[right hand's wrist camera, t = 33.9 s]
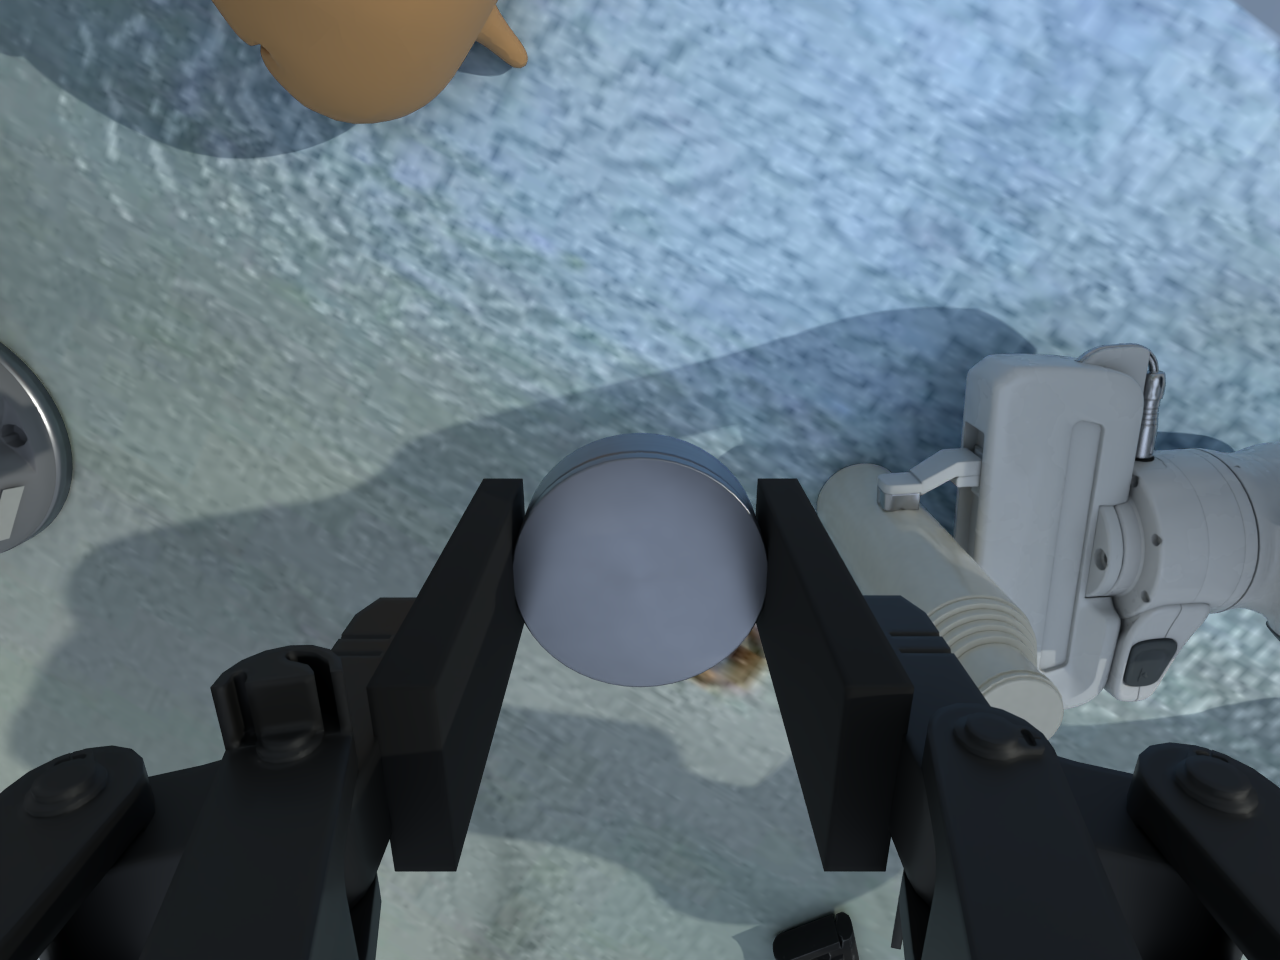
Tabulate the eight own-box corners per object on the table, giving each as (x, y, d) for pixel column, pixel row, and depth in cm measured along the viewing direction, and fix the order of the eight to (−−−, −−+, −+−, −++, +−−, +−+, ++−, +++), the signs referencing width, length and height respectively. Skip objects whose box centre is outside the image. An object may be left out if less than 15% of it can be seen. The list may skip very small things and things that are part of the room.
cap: (563, 664, 16) (555, 711, 14) (490, 466, 14) (474, 495, 13) (778, 614, 15) (791, 657, 14) (728, 404, 14) (738, 427, 12)
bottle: (907, 460, 45) (1105, 652, 26) (900, 541, 47) (1080, 774, 28) (818, 465, 45) (950, 658, 26) (815, 545, 47) (936, 780, 28)
